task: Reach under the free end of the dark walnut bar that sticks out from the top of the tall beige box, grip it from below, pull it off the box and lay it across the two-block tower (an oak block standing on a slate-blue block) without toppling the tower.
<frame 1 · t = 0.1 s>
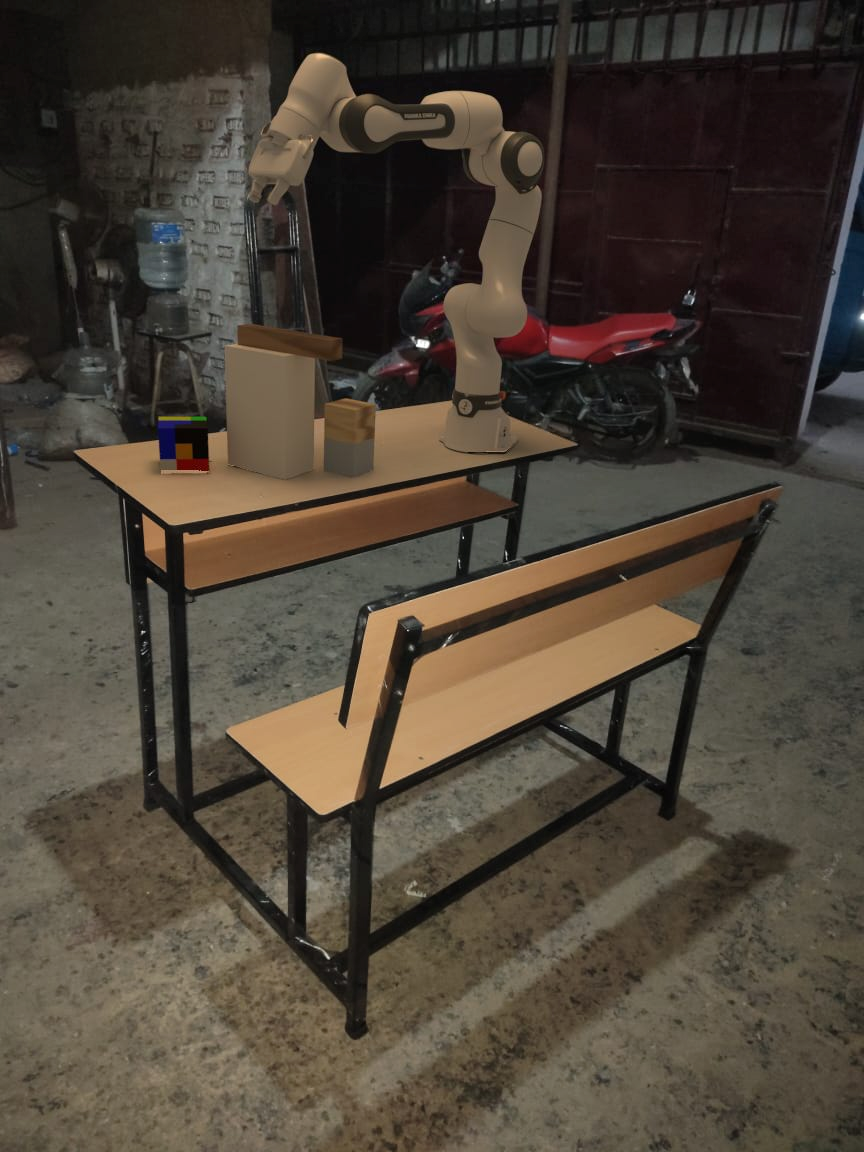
hand: (261, 202, 168), 54 cm above the table, tool tilted 30°, fingers open, 8 cm apart
tower bottom: (348, 470, 193), on the table, touching tower top
walnut bar: (288, 351, 178), point 26 cm above the table, touching tall beige box
tower top: (349, 437, 190), point 7 cm above the table, touching tower bottom
puzzle toy: (185, 468, 187), on the table
tall beige box: (271, 467, 191), on the table
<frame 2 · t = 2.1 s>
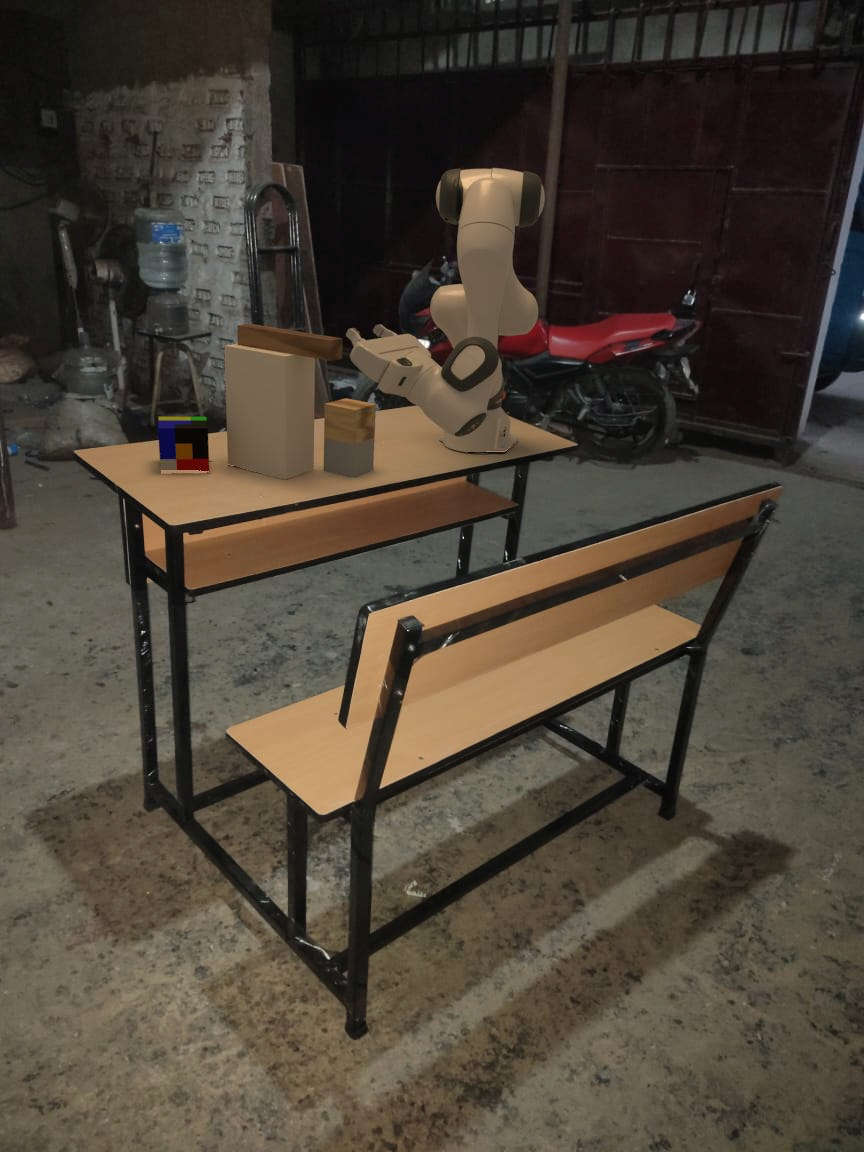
hand: (362, 329, 168), 33 cm above the table, tool pointing upward, fingers open, 8 cm apart
nothing on the table moved.
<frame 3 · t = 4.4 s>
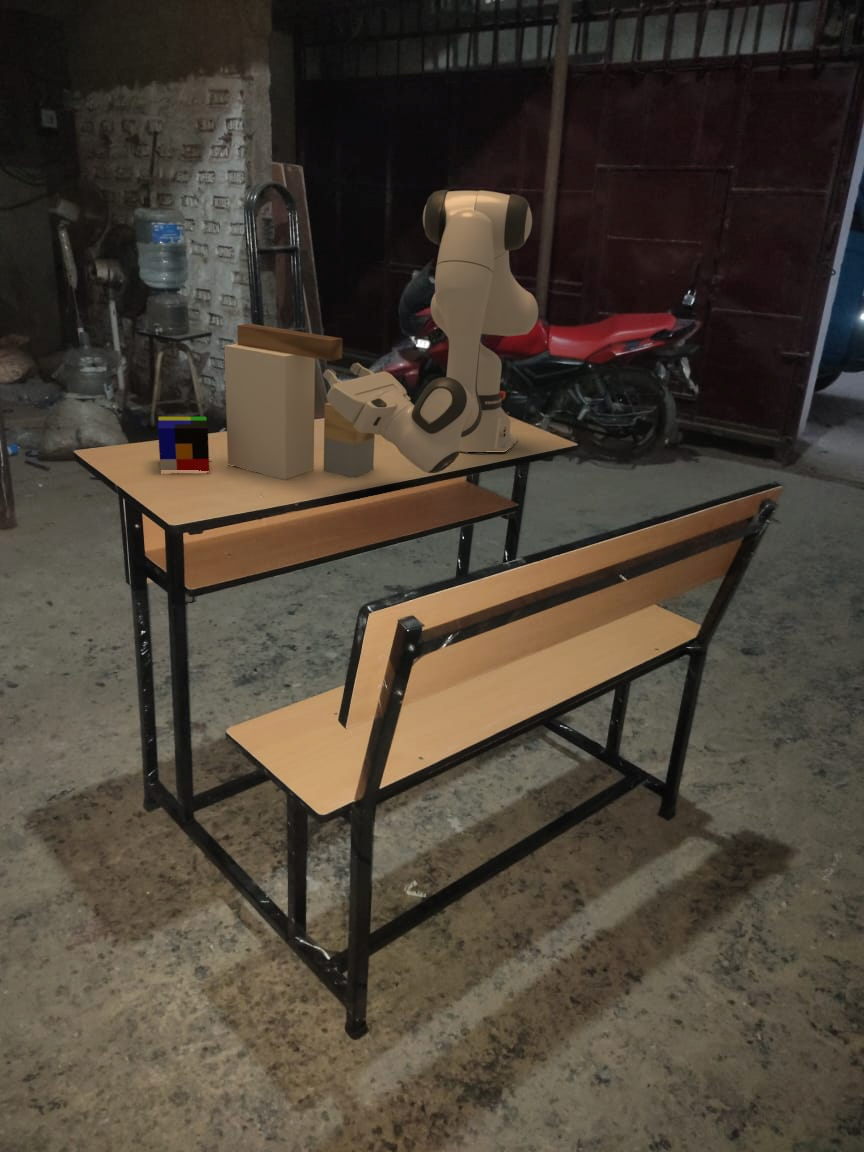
hand: (340, 368, 173), 24 cm above the table, tool pointing upward, fingers open, 8 cm apart
nothing on the table moved.
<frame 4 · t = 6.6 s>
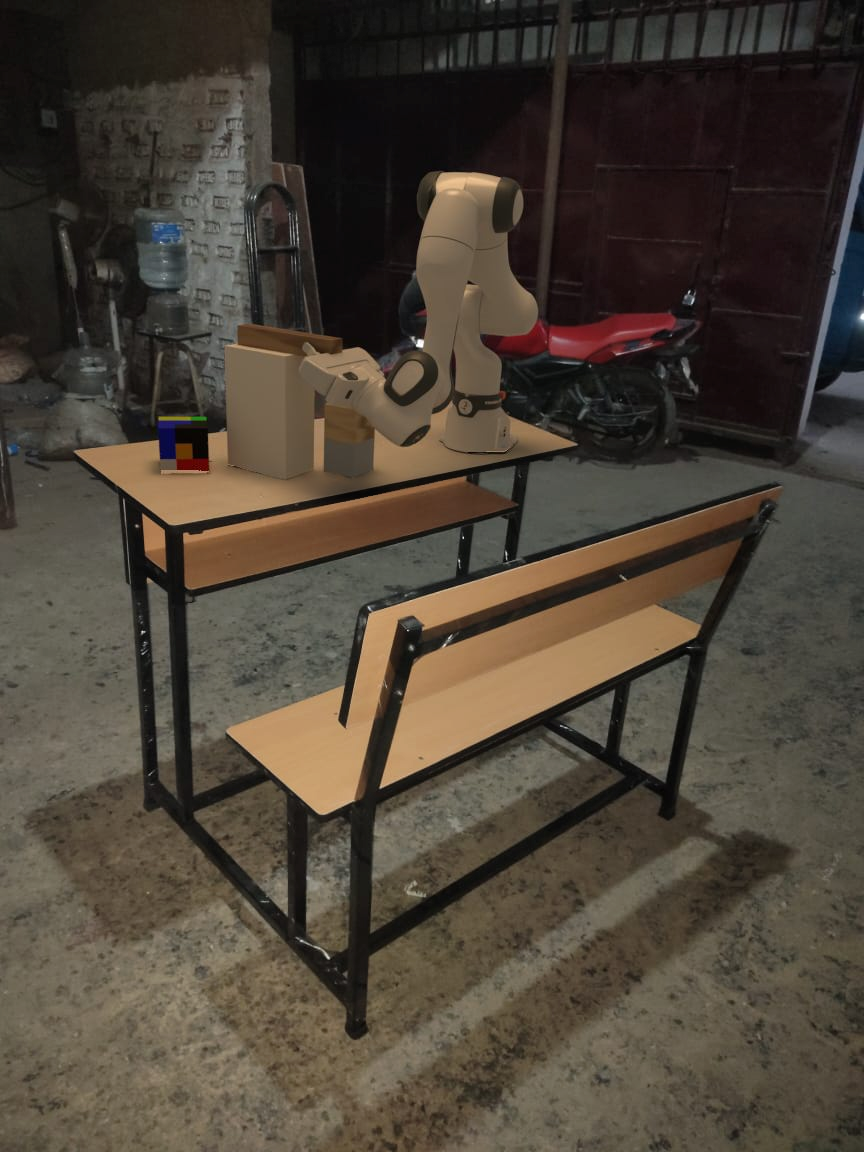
hand: (313, 343, 174), 28 cm above the table, tool pointing upward, fingers closed on walnut bar, 4 cm apart
walnut bar: (288, 351, 178), point 26 cm above the table, touching gripper, tall beige box
everything else where it was.
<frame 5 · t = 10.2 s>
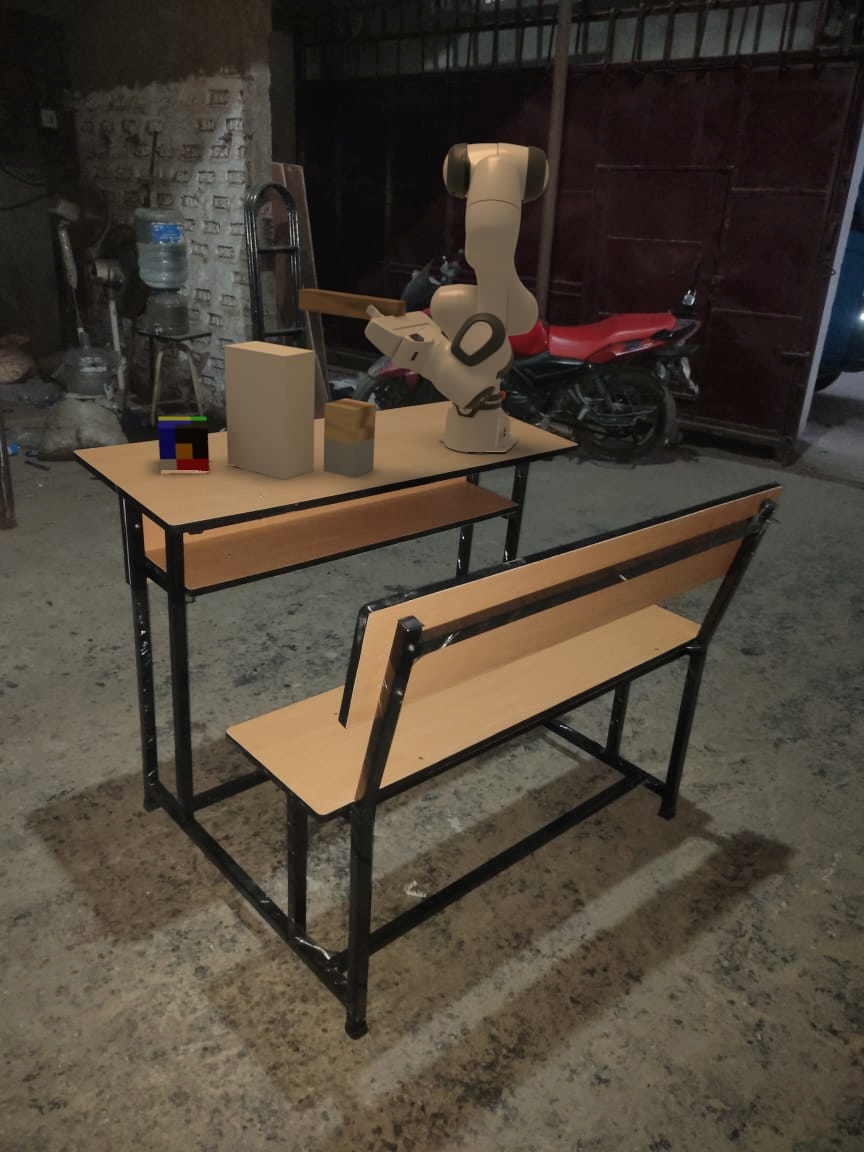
hand: (376, 306, 175), 36 cm above the table, tool pointing upward, fingers closed on walnut bar, 4 cm apart
walnut bar: (351, 315, 179), point 34 cm above the table, touching gripper
everything else where it was.
when the fingers open (19 cm above the table, at t = 14.1 s): walnut bar drops 2 cm, resting on tower top.
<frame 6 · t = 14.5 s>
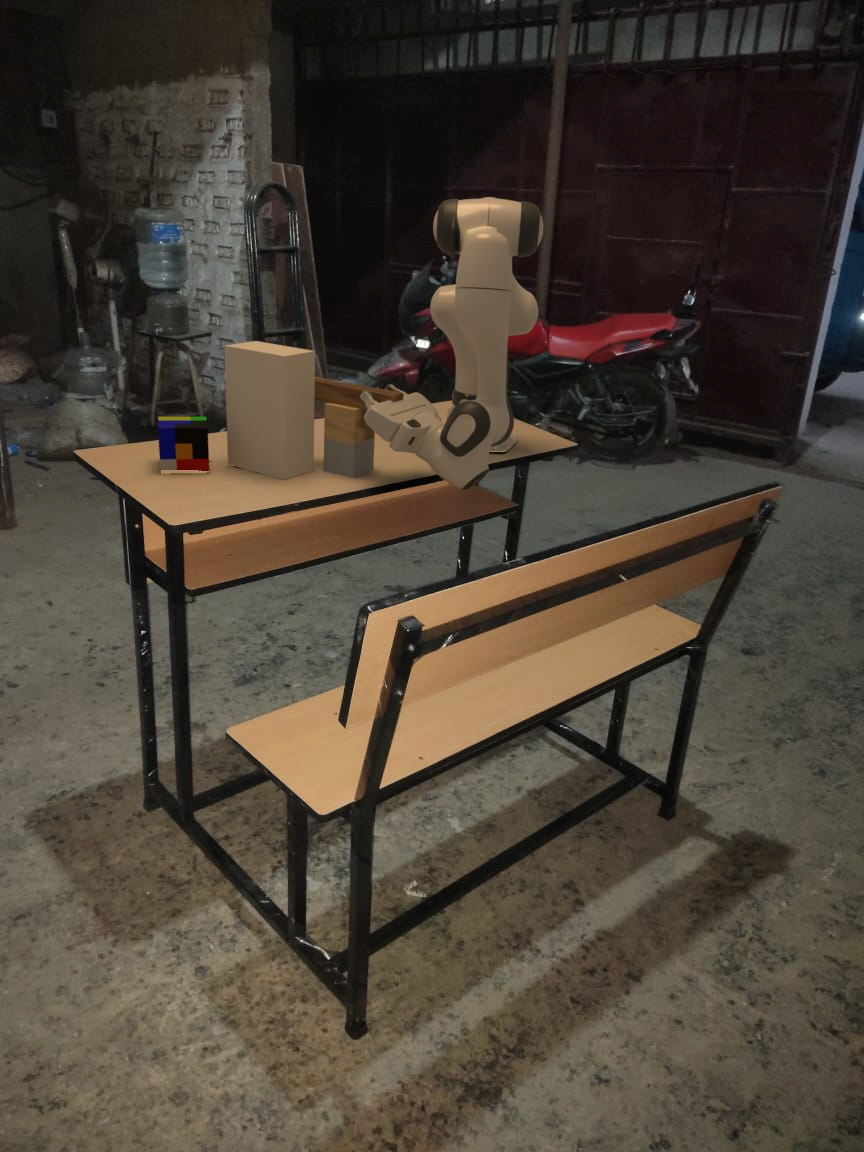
hand: (375, 390, 183), 19 cm above the table, tool pointing upward, fingers open, 8 cm apart
walnut bar: (350, 404, 187), point 15 cm above the table, touching tower top
tower top: (349, 437, 190), point 7 cm above the table, touching tower bottom, walnut bar
everything else where it was.
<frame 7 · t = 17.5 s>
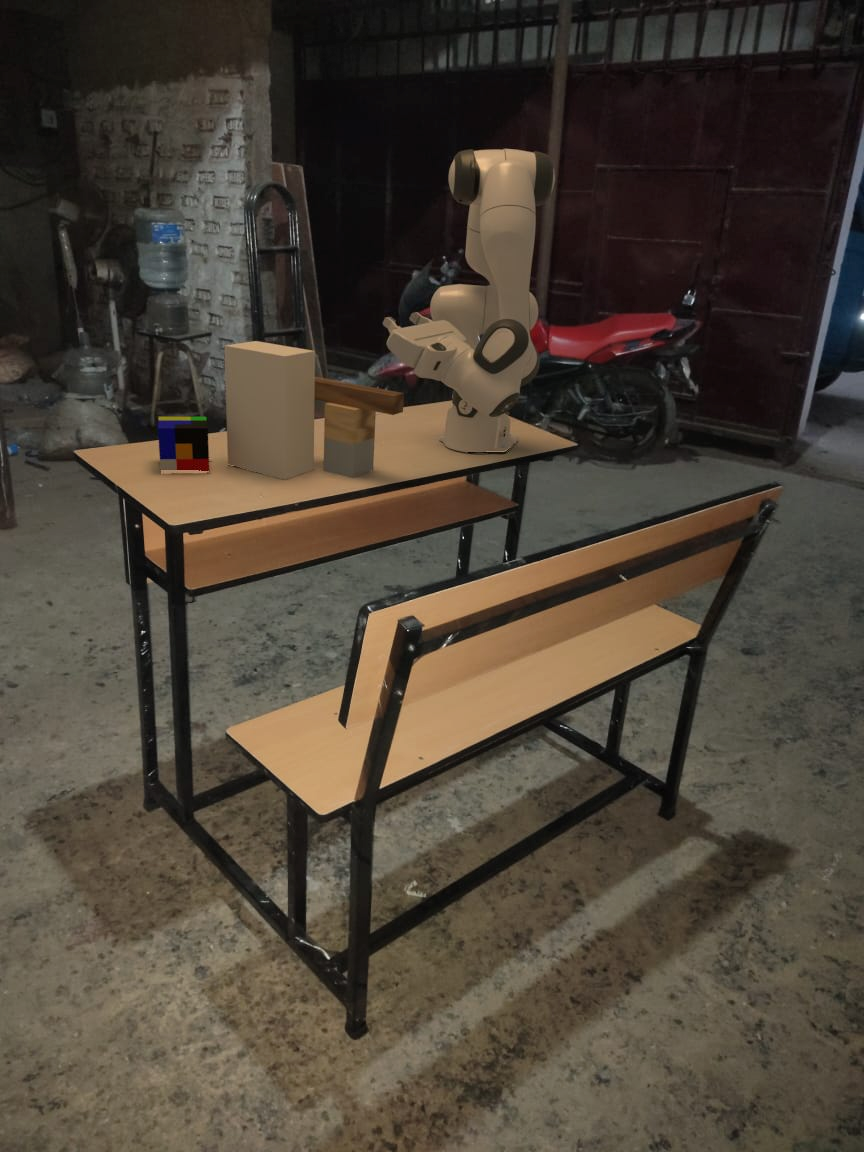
hand: (399, 317, 175), 34 cm above the table, tool pointing upward, fingers open, 8 cm apart
nothing on the table moved.
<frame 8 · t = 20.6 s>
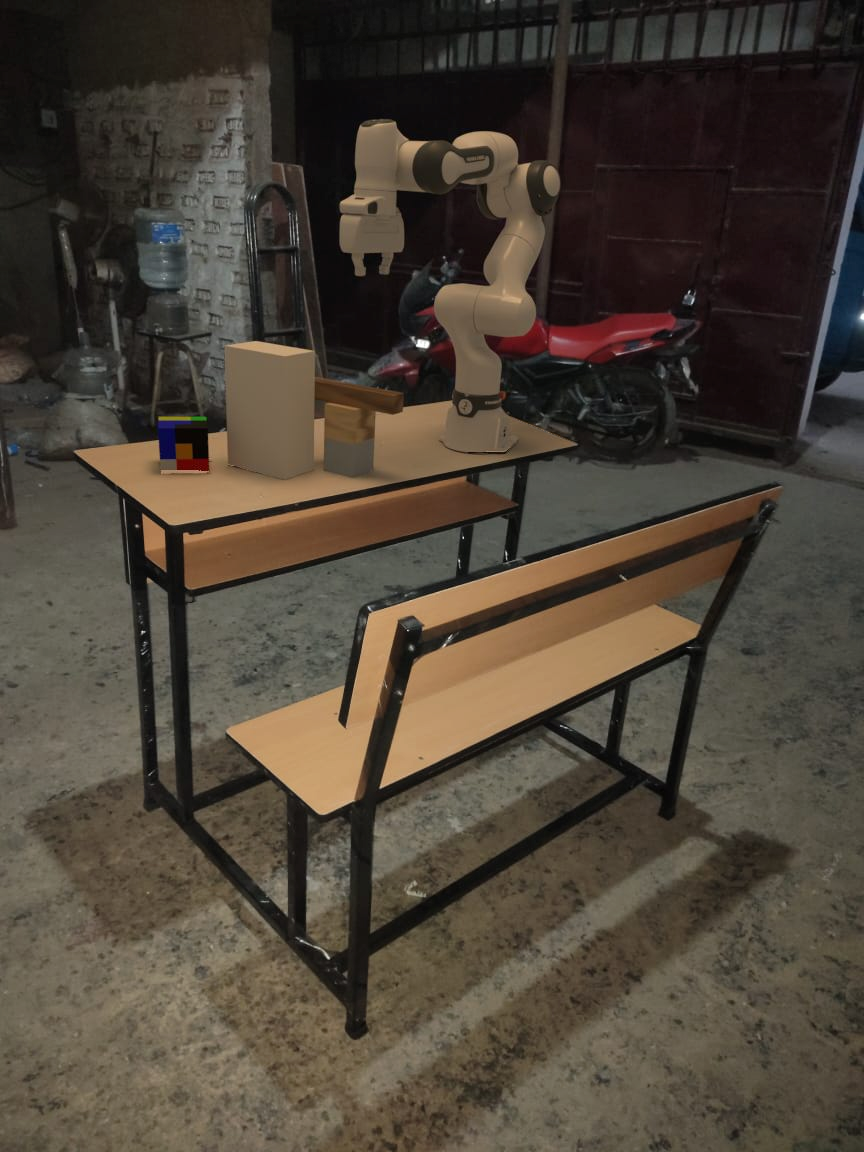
hand: (372, 275, 185), 41 cm above the table, tool pointing down, fingers open, 8 cm apart
nothing on the table moved.
at the end: walnut bar inside the target area on the tower top (0.1 cm from its centre), point 7.5 cm above the tower top's base; tower top tilted 0°; the gripper is holding nothing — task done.
